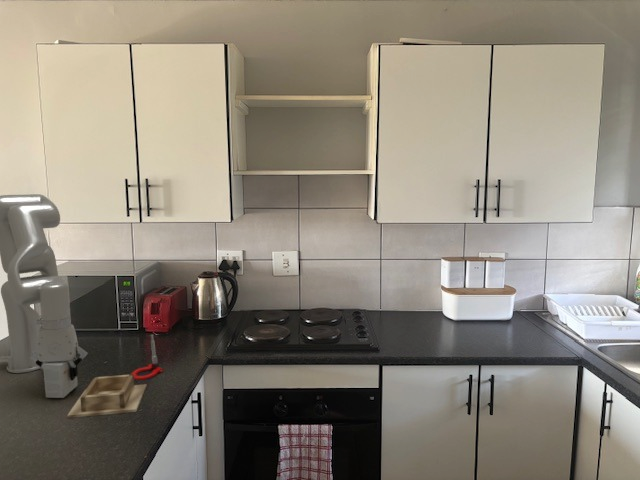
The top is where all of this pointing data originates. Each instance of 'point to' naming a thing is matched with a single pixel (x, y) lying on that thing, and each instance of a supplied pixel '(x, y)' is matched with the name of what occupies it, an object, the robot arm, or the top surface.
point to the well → (109, 397)
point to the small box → (58, 379)
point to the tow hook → (153, 365)
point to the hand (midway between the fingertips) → (61, 378)
